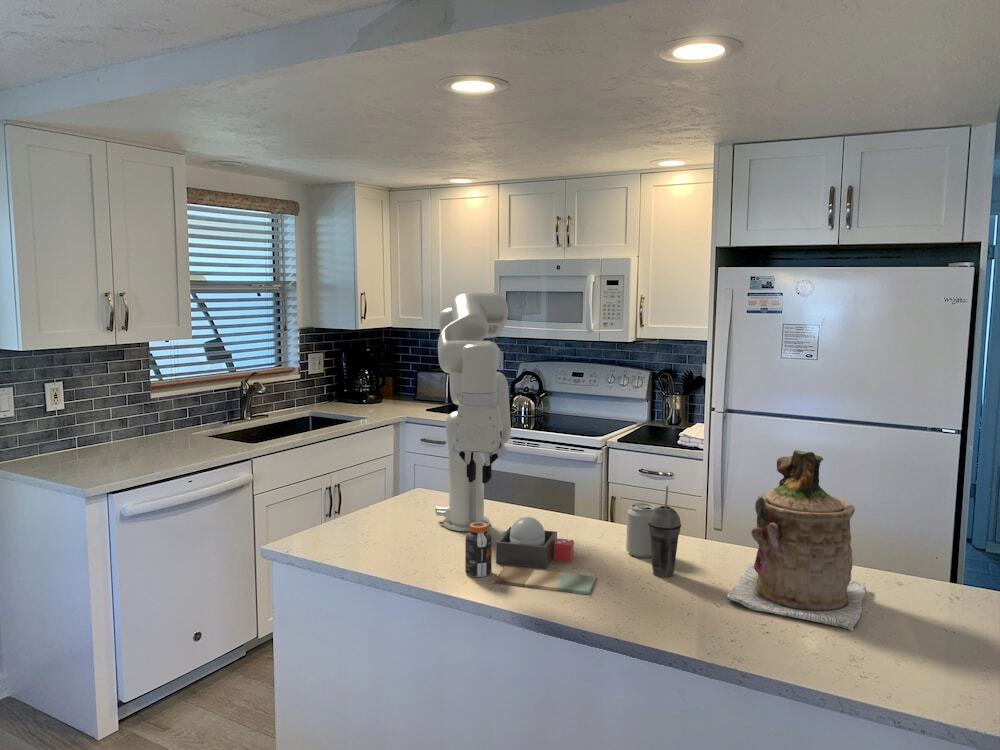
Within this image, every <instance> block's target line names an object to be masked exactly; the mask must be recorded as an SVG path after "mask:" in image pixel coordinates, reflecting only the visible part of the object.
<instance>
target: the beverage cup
mask: <svg viewBox="0 0 1000 750" xmlns="http://www.w3.org/2000/svg"><path fill="white" fill-rule="evenodd" d="M668 498H669V486H667V485H666V486H665V496H664V499H665V500H664V505H662V506H658V507H656V509H655V510H654V511H653V512H652V513H651V516H650V518H649V522H648V524H649V531H650V536H651V554H652V557H651V566H652V567H651V568H652V574H653V576H655V577H658V578H663V579H664V578H668V579H669V578H671V577H674V571H675V566H676V558H677V557H676V556H677V550H678V543H679V542H678V541H679V536H680V532H681V528H682V522H681V518H680V515H679V514H678V512H677V511H676V510H675V509H674V508H672V507H670V506H668V500H669V499H668Z"/></svg>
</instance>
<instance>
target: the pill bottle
mask: <svg viewBox="0 0 1000 750" xmlns="http://www.w3.org/2000/svg"><path fill="white" fill-rule="evenodd" d="M488 527H489V526H488V525H487V524H486V523H482V522H475V523H471V524H470V531H468V533H466V535H465V542H464V543H465V546H464V547H465V557H464V558H465V564H464V565H465V566H464V567H465V568H464V569H465V570H464V571H465V574H466V575H467V576H469V577H473V578H474V577H475V578H483V577H487V576H489V575H491V573H492V571H493V570H492V569H493V567H492V565H493V564H492V563H493V562H492V551H493V550H492V549H493V547H492V544H493V541H492V540H493V536H492V534H491V533H490V532H488V530H489V529H488Z"/></svg>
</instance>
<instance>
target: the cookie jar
mask: <svg viewBox="0 0 1000 750" xmlns="http://www.w3.org/2000/svg"><path fill="white" fill-rule="evenodd" d="M792 453H793V454H792V455H791V456H781V457H779V458H777V460H776V471H777V472H778V473H780V474H781V475H782V476H783V478H781V479H780V480H779V483H778V484H779V485H778V486H777V487H774V488H773V489H771V490H769V491H768V492H766V493H763V494H759V495H758V496H757V499H756V501H755V504H754V510H755V512H756V526H755V527H753V528H752V529H751V530H750V534H751V536H752V538H753V540H754V541H756V543H757V545H758V550H757V551H756V557H755V560H754V561H755V562H754V563H749V564H748V565H746V568H745V570H744V571H743V573H742V574H740V575H739V577H738V579H737V580H736V582H735V584H734V585H733V587H732V590H731V591H729V592H728V593H727V595H726V596H727V598H726V599H727V600H729V601H734V602H736V603H738V604H741V605H742V606H744V607H746V608H748V609H749V610H752V611H759V612H764V613H771V614H776V615H780V616H785V617H791V618H796V619H800V620H806V621H811V622H816V623H820V624H824V625H830V626H834V627H839V628H843V629H846V630H850V631H851V632H854V631H855V630H854V627H855V625H856V624H857V623H858V621H859V620H860V619H861V614H862V613H863V605H862V604H863V599H864V597H865V596H866V595H865V594H866V592H867V589H866V588H867V586H866V583H865V582H862V581H859V580H853V579H852V570H853V562H854V561H853V548H852V545H851V543H852V535H851V519H852V517H853V516H854V514H855V510H856V509H855V506H854V505H853V504H852V503H851V502H848V501H846V500H844V499H842V498H840V497H835V496H832V495H831V494H828V493H827V492H826V491H825V489H823V488H822V487H821V485H820V466H821V462H822V461H824V458H823V456H821V455H817V454H815V453H814V451H810V450H809V451H807V452H805V451H802V450H799V449H795V450H794V451H793V452H792Z"/></svg>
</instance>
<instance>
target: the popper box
mask: <svg viewBox="0 0 1000 750" xmlns="http://www.w3.org/2000/svg"><path fill="white" fill-rule="evenodd" d="M511 527H512V526H509V528H507V530H506V531H505V532H504V533H503V534H502V535H501V537H499V538H498V539H497V541H496V542H495V563H496V564H502V565H508V566H510V565H511V566H516V567H525V568H527V567H529V568H534V569H535V568H536V569H542V570H546V569H547V568H548V566H549V564H550V563H551V562H552V560H553V561H559V562H567V563H571V562H572V560H573V558H574V548H575V543H574V541H575V540H574V539H568V538H567V539H566V538H558V531H556V530H555V531H553V530H545V529H544V531H545V545H544V546H537V545H527V544H518V543H510V530H511Z"/></svg>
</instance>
